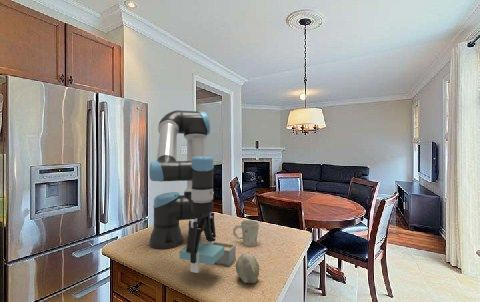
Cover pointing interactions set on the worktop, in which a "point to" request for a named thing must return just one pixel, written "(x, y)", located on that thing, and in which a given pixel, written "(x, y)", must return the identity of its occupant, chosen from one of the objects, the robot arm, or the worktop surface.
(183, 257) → the lid
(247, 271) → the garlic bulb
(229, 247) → the box
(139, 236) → the worktop surface
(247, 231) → the mug
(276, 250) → the worktop surface
